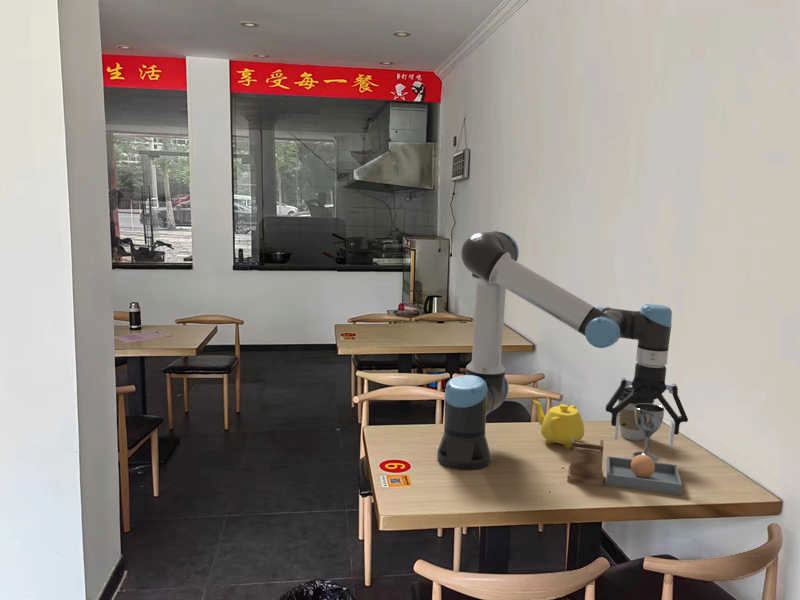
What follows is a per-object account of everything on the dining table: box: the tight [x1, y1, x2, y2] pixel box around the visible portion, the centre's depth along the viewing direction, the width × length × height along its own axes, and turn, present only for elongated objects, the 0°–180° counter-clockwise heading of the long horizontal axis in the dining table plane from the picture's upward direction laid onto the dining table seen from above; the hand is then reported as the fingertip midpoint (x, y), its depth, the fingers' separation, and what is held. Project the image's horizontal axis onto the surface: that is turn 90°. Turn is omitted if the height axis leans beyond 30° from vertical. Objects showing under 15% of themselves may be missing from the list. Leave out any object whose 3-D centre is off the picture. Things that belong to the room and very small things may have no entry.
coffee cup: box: [617, 386, 655, 441], centre depth 198 cm, size 11×11×15 cm
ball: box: [631, 455, 655, 478], centre depth 166 cm, size 6×6×6 cm
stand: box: [566, 437, 604, 487], centre depth 166 cm, size 9×7×10 cm
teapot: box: [532, 399, 585, 449], centre depth 193 cm, size 14×14×12 cm
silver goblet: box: [632, 403, 665, 462], centre depth 182 cm, size 8×8×15 cm
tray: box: [605, 455, 683, 496], centre depth 167 cm, size 18×13×3 cm
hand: (642, 441), depth 166 cm, fingers open, 13 cm apart
